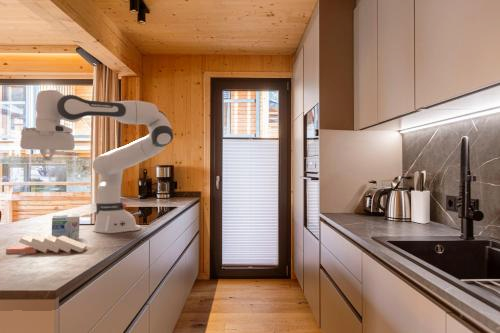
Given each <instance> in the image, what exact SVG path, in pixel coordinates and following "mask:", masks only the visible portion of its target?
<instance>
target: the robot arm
mask: <svg viewBox="0 0 500 333" xmlns="http://www.w3.org/2000/svg"><path fill="white" fill-rule="evenodd" d="M158 108H159V107H157V105H156V104H154V103H152V102H147V101H143V100H142V101H141V100H120V101H118V100H117V101H101V100H89V99H85V98H82V97H80V96H78V95H74V94H67V95H64V94H63V93H62V92H60V91H59V89H51V88H49V89H47V88H46V89H42V90H40V91H39V92H38V93H37V95H36V103H35V111H36V118H35V127H28V126H27V127H24V128H23V129H22V130H21V134H20V135H21V139H20V144H19V146H20V148H21V149H22V150H39V152H40V153H39V154H41V156H42V161H45V162H52V161H53V157H54V156H55V154H56V151H73V150H74V149H75V144H76V143H75V138H74V135H73V134H72V133H73V128H71V127H68V126H65V125H64V124H61V120H62V121H66V122H69V123H77V122H79V121H81V120H82V119H83V118H84V117H86V116H87V117H90V116H91V117H108V118H112V119H114V120H115V121H117V122H119V123H122V124H126V125H145V126H147V131H148V134H147V135H146V136H144V137H141V138H138V139H137V140H135V141H132V142H130V143H129V144H126V145H124V146H121V147H119V148H115V149H113V150H110V151H106V152H105V153H102V154H100V155H98V156H97V157H95V158H94V160H93V161H92V169H93V171H94V172H95V173H97V174H98V175H99V176H100V177H99V182H98V185H97V192H96V194H97V196H96V203H95V214H96V215H95V216H96V217H95V222H94V226H93V230H92V231H93V232H95V233H101V234H102V233H103V234H114V233H116V234H117V233H124V232H131V231H132V232H133V231H139V230H141V226H140V224H137V223H136V218H135V216H134V215H133V214H132V213H130V212H129V211H127V210H126V209H125V208H127V204H126V203H123V202H121V197H122V196H121V195H122V194H121V193H122V192H121V188H122V181H123V175H124V170H126V169H128V168H130V167H133V166H136V165H138V164H140V163H143V162H144V161H146V160H149V159H150V158H153V157H154V156H157V155H158V154H159V153H161V152H162V151H164V150H165V148H166V146H167V145H169V144H170V143H171V142H172V141H173V139H174V131H173V129H172V126H171V123H170V121H169V119H168V118H167V115H166V114H165V113H164V112H163V111H161V110H159V109H158ZM47 151H49V155H46V153H47Z"/></svg>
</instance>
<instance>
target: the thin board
mask: <svg viewBox="0 0 500 333" xmlns="http://www.w3.org/2000/svg"><path fill="white" fill-rule="evenodd" d="M101 248H102V247H101V246H99V247H95V246H94V247H90V246H87V247H86V249H85V250H84V251H82V252H78V251H76V250H72V251H71V252H69V253H68V252H66V251H63V250H61V251H59V252H58V253H56V252H54V251H51V250H50V251H48V252H46V253H45V252H42V251H39V252H37V253H22V256H53V255H55V256H58V255H59V256H61V255H63V256H65V255H67V256H68V255H69V256H71V255H74V256H75V255H93V254H94V253H96V252H97V251H98V250H100V249H101Z"/></svg>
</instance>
